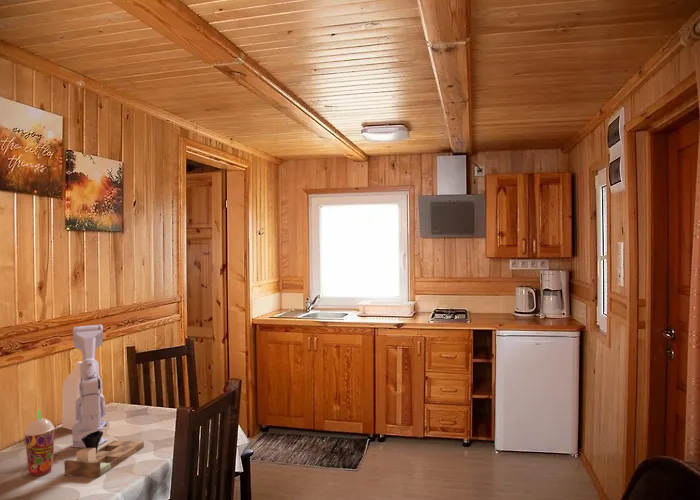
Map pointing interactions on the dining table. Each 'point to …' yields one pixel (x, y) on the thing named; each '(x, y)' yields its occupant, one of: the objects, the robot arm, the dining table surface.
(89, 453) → the block
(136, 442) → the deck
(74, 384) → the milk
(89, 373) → the robot arm
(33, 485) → the dining table surface
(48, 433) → the smoothie
